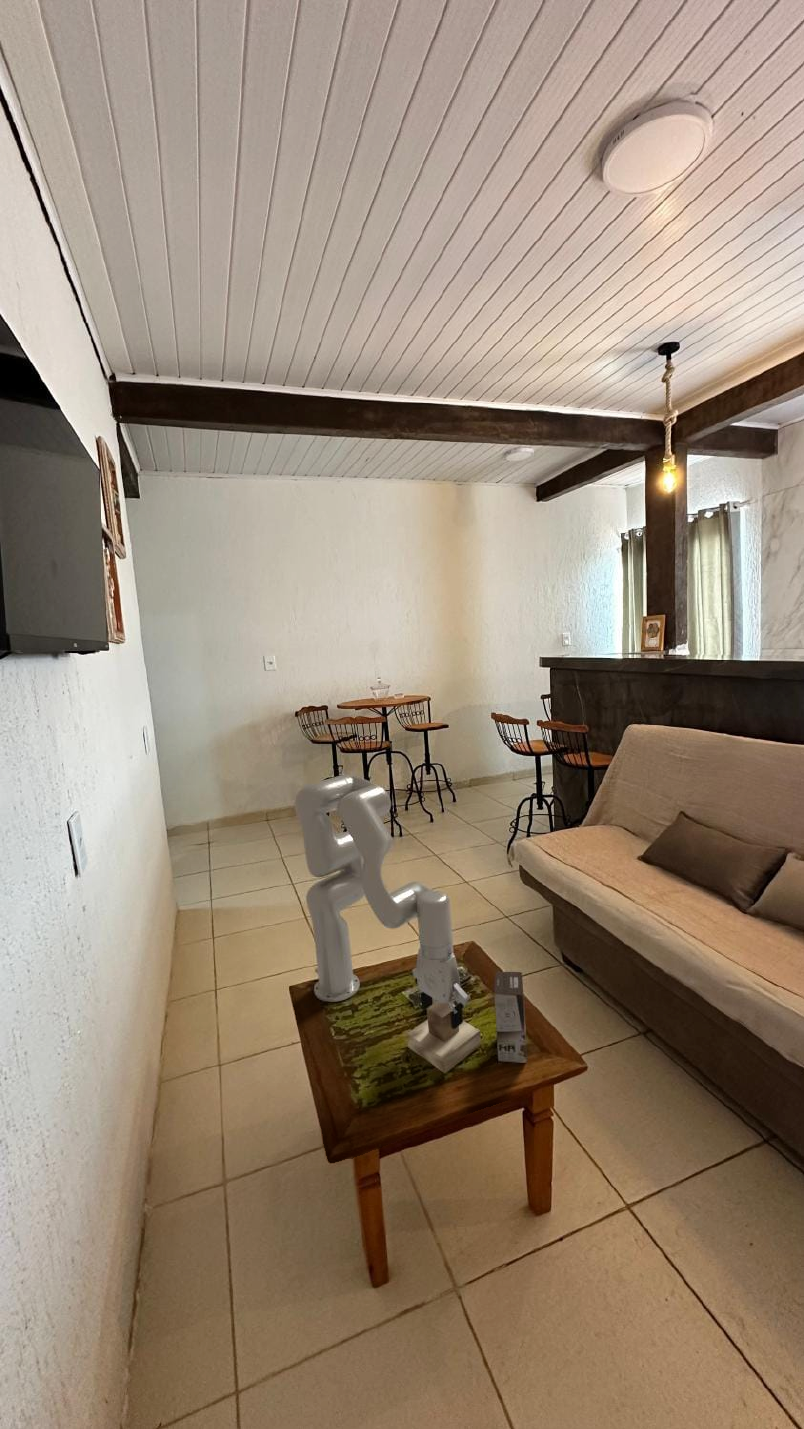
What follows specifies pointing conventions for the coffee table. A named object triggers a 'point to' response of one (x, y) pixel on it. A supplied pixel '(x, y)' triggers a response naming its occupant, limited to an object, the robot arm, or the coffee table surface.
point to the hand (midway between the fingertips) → (441, 1016)
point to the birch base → (444, 1045)
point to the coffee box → (510, 1017)
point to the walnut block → (440, 1021)
